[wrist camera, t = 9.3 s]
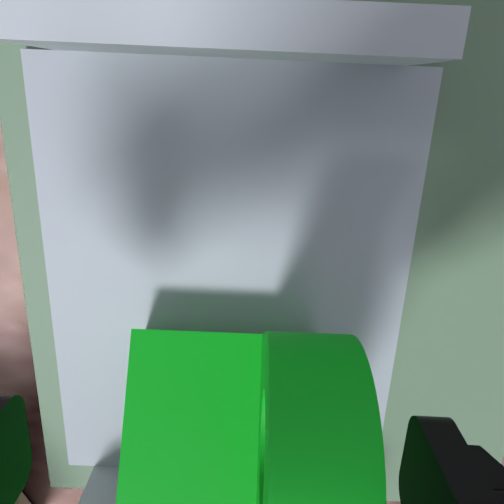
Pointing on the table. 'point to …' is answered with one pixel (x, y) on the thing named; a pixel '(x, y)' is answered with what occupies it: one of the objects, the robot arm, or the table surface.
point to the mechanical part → (250, 420)
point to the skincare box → (22, 499)
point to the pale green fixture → (257, 198)
